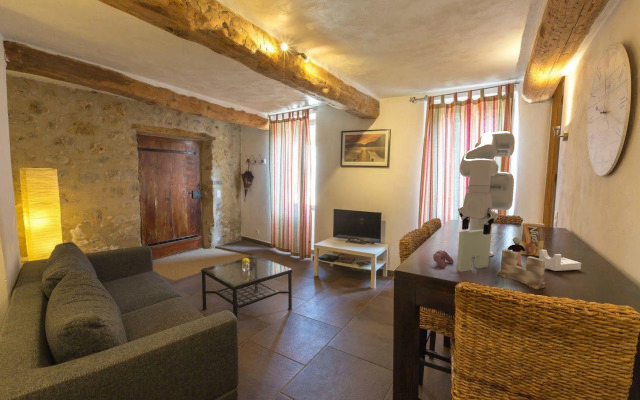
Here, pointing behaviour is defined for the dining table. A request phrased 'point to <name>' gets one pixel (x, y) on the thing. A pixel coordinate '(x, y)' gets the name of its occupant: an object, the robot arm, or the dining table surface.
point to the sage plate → (473, 249)
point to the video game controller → (442, 258)
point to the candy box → (532, 238)
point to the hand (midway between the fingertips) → (475, 231)
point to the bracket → (558, 262)
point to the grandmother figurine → (517, 248)
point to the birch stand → (522, 269)
